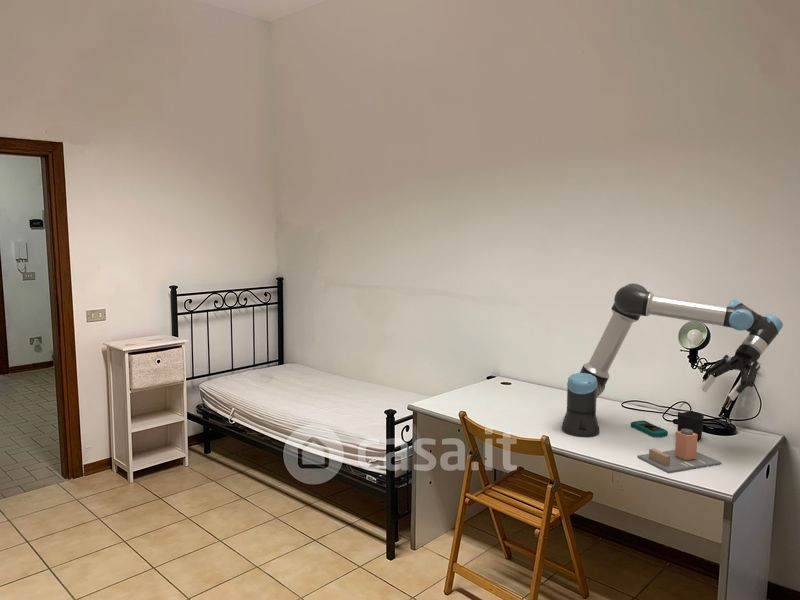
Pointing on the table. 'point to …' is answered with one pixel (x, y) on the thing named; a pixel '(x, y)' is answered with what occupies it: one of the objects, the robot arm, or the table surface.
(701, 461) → the plate
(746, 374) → the robot arm
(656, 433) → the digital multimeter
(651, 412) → the table surface
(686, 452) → the pink capped canister
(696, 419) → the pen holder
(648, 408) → the table surface
